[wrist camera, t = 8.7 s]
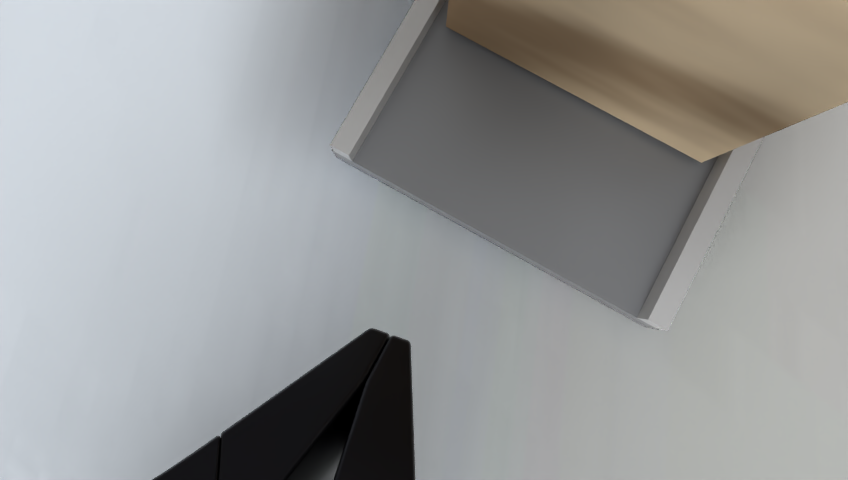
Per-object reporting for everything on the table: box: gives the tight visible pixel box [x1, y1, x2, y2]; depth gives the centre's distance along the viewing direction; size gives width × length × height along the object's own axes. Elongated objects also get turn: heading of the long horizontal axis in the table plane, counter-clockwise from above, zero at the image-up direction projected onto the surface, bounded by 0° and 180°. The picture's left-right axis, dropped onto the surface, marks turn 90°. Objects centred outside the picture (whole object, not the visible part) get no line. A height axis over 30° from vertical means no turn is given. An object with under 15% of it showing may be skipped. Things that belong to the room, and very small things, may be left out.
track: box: [330, 0, 764, 331], centre depth 16 cm, size 13×14×4 cm
